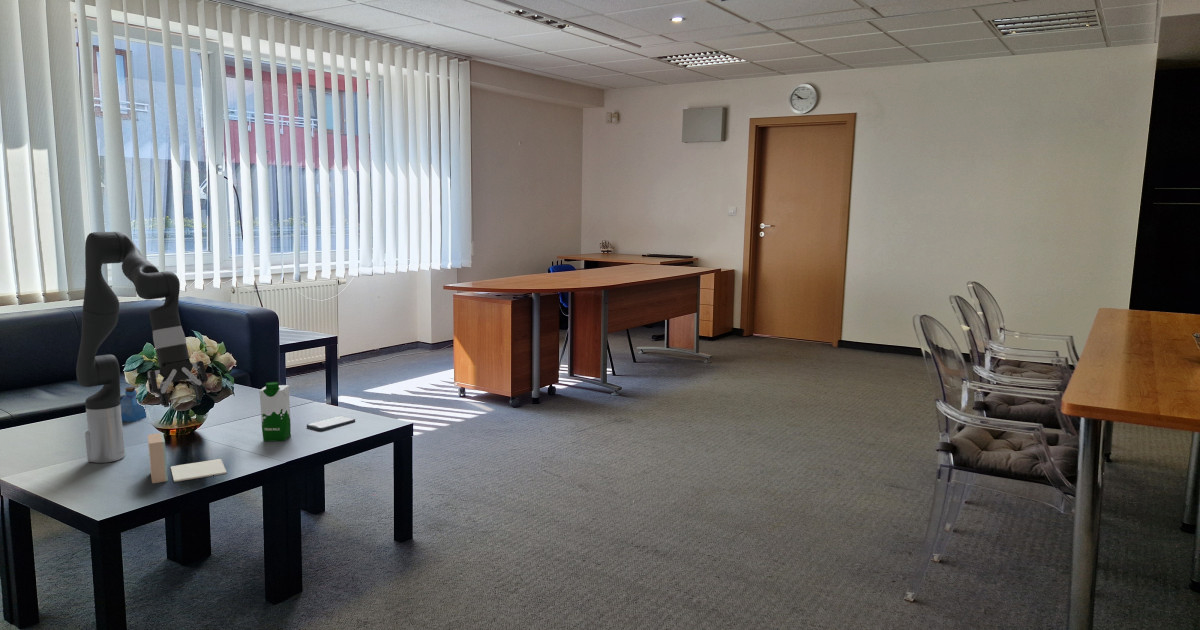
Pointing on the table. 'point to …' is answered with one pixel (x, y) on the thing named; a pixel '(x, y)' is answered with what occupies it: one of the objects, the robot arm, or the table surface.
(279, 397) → the milk carton
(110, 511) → the table surface
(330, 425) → the phone case
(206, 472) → the felt mat
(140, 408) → the perfume bottle
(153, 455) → the beige rectangular block
